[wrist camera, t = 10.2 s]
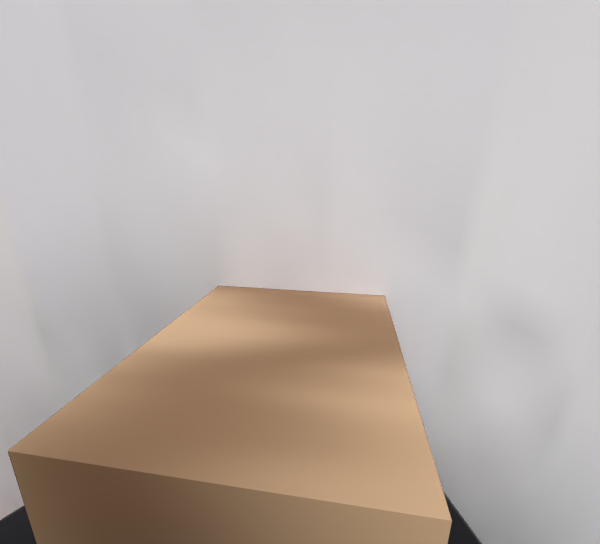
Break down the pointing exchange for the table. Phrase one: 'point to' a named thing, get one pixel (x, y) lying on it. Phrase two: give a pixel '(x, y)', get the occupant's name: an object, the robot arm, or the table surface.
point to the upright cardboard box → (243, 434)
